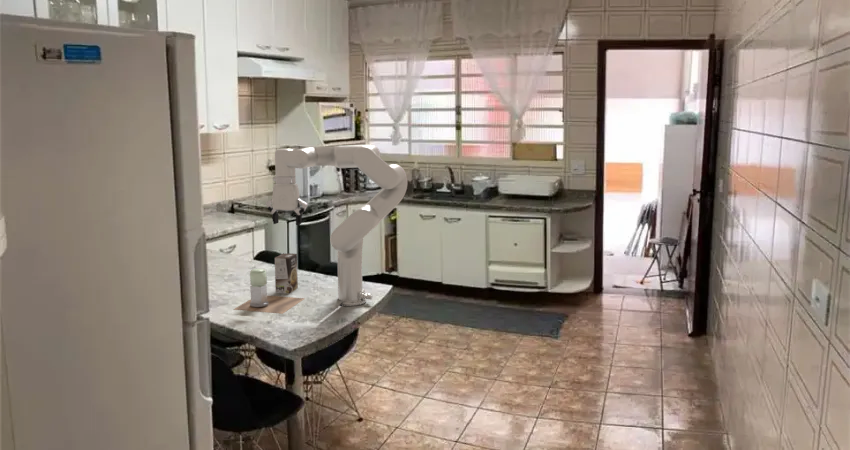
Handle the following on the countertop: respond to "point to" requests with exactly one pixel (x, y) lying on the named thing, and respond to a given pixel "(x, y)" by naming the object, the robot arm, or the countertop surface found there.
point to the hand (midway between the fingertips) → (287, 224)
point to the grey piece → (258, 296)
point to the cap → (258, 277)
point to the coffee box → (286, 273)
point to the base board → (273, 304)
